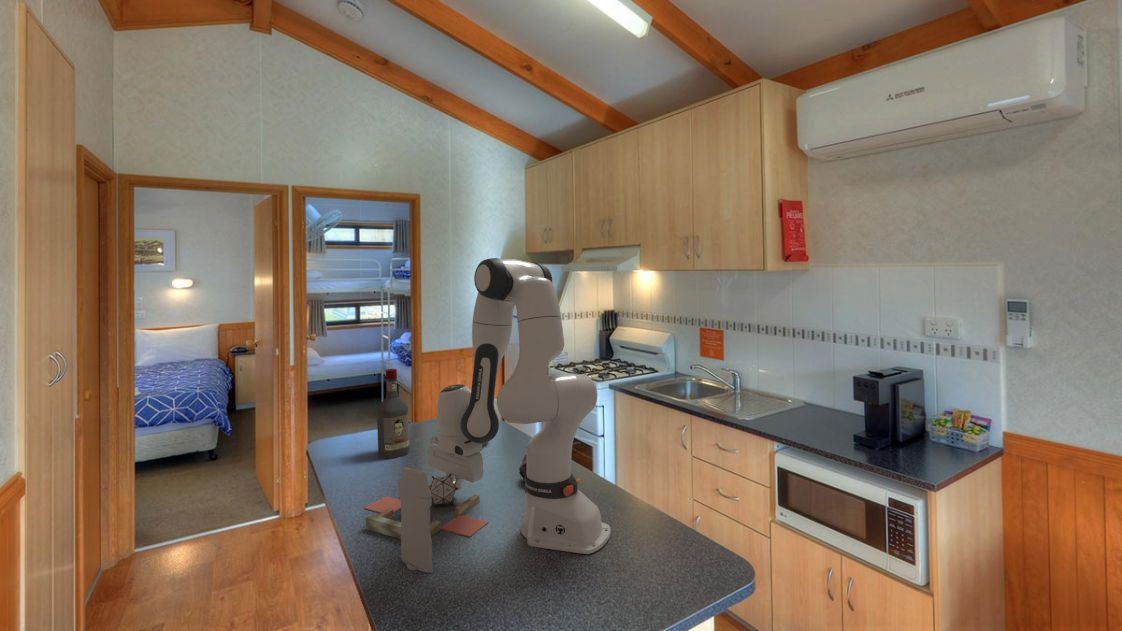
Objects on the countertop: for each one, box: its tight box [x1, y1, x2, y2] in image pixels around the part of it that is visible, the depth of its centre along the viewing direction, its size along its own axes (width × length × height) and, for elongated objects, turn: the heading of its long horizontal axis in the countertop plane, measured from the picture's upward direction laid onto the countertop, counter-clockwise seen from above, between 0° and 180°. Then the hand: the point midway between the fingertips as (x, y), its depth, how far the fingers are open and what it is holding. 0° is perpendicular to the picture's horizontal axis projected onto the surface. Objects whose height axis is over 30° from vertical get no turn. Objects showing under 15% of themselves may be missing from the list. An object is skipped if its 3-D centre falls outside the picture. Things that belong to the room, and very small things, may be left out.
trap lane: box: [365, 484, 481, 540], centre depth 140 cm, size 17×25×3 cm
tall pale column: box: [397, 466, 434, 574], centre depth 116 cm, size 11×4×22 cm, turn 55°
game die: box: [429, 474, 460, 508], centre depth 147 cm, size 9×8×10 cm
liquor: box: [376, 368, 410, 459], centre depth 185 cm, size 9×9×30 cm
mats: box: [363, 495, 489, 538], centre depth 140 cm, size 35×8×1 cm, turn 64°
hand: (455, 488), depth 152 cm, fingers closed
